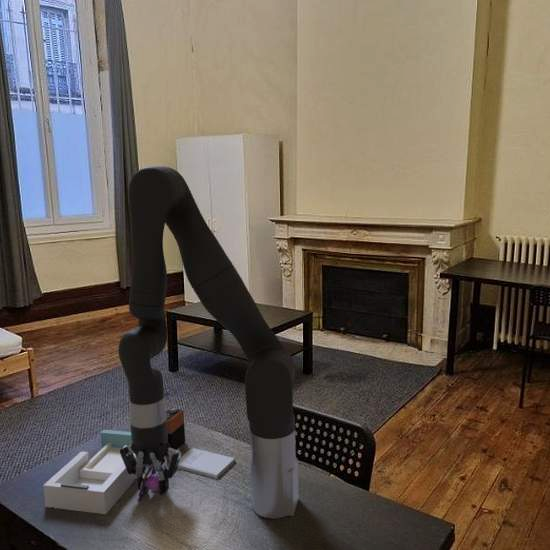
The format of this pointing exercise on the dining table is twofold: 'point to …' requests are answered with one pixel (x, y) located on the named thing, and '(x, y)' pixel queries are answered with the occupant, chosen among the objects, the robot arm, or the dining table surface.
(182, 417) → the battery
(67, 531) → the dining table surface
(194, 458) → the external hard drive
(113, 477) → the open box
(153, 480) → the purple toy kit
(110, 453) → the drawer
